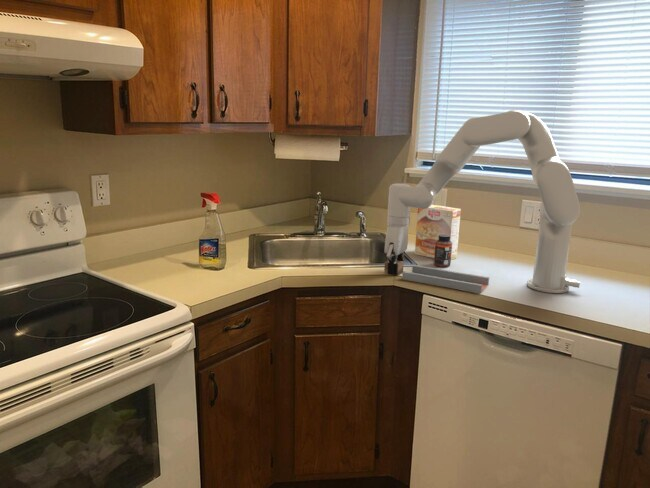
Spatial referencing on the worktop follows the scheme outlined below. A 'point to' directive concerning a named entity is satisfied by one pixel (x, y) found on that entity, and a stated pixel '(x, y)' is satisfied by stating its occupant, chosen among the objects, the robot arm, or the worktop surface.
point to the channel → (447, 278)
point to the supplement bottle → (443, 251)
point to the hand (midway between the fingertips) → (395, 271)
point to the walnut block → (399, 267)
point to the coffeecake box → (436, 229)
